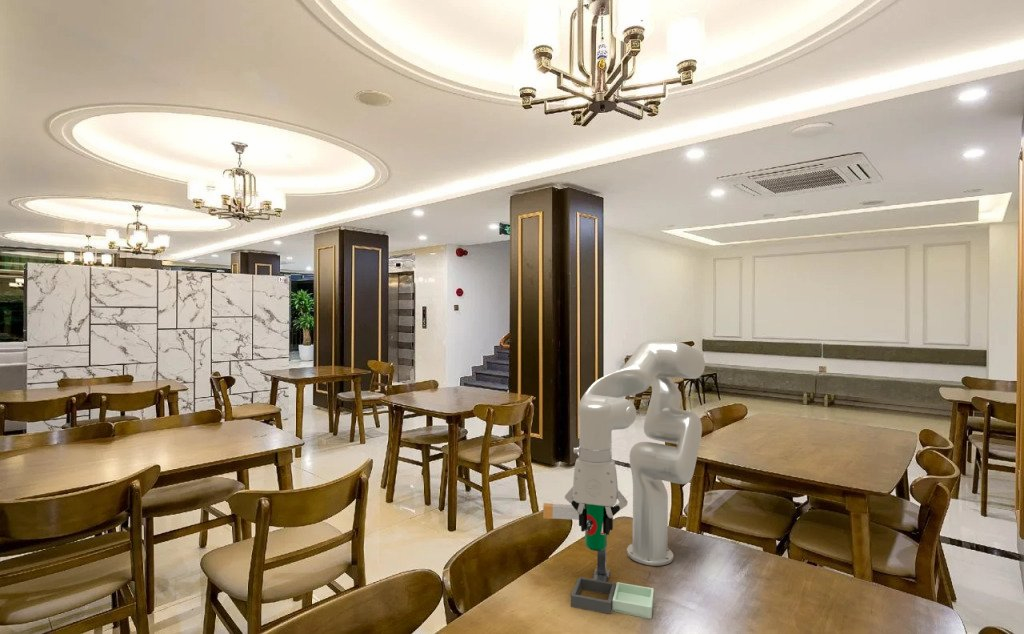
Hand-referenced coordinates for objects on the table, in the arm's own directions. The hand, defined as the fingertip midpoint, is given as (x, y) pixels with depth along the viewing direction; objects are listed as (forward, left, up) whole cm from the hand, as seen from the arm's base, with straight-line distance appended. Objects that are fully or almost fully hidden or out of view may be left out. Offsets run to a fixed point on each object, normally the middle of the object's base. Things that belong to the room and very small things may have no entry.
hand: (595, 530), depth 118 cm
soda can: (0, 0, -4) cm, 4 cm away
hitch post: (-9, 0, -16) cm, 18 cm away
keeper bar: (-10, -7, -2) cm, 12 cm away
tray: (0, +9, -16) cm, 18 cm away
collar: (+1, 0, -16) cm, 16 cm away
